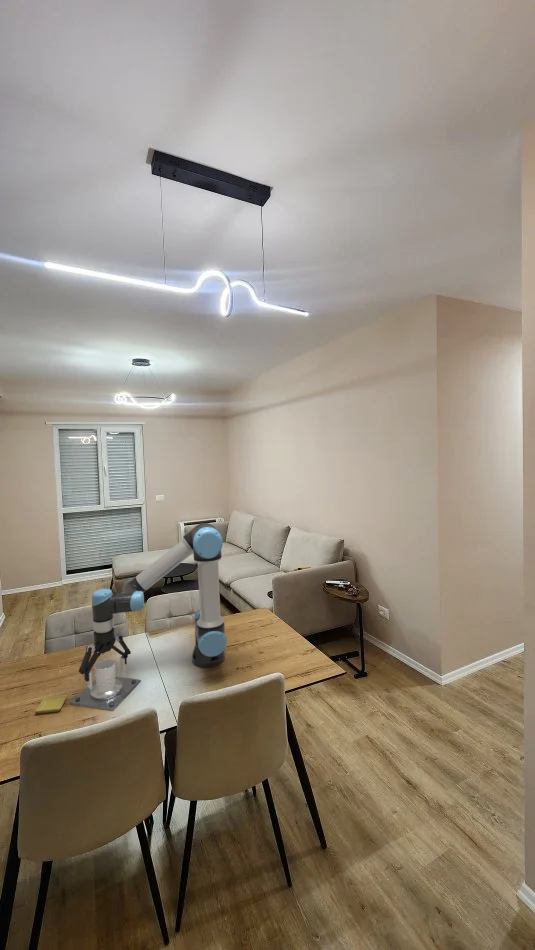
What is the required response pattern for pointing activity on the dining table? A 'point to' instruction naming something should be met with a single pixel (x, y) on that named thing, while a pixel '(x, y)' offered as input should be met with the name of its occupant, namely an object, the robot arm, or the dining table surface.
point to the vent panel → (106, 695)
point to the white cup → (105, 675)
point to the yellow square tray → (51, 704)
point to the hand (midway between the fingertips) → (107, 680)
